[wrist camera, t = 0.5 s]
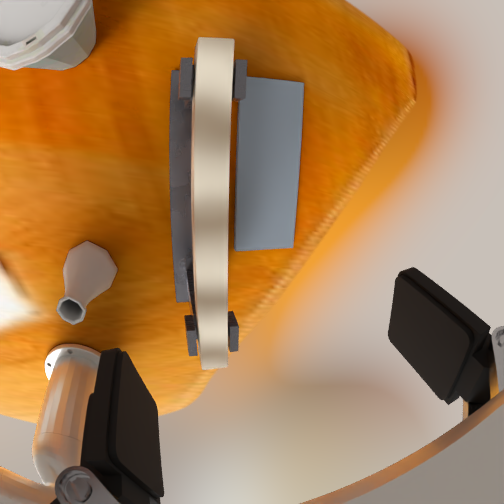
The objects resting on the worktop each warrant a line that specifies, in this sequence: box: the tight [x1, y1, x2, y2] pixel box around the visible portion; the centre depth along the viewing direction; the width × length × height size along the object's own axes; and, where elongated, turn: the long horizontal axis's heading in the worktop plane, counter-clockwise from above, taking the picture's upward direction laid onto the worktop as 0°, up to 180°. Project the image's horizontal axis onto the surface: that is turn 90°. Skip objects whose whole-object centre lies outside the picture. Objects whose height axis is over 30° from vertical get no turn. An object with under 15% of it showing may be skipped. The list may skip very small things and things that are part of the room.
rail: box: [191, 37, 234, 370], centre depth 24 cm, size 28×2×3 cm, turn 178°
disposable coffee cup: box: [0, 0, 96, 71], centre depth 17 cm, size 11×11×15 cm
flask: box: [56, 241, 118, 325], centre depth 31 cm, size 7×7×10 cm
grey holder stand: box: [169, 58, 247, 356], centre depth 29 cm, size 28×6×14 cm, turn 178°
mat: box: [234, 77, 304, 251], centre depth 36 cm, size 21×8×1 cm, turn 178°
